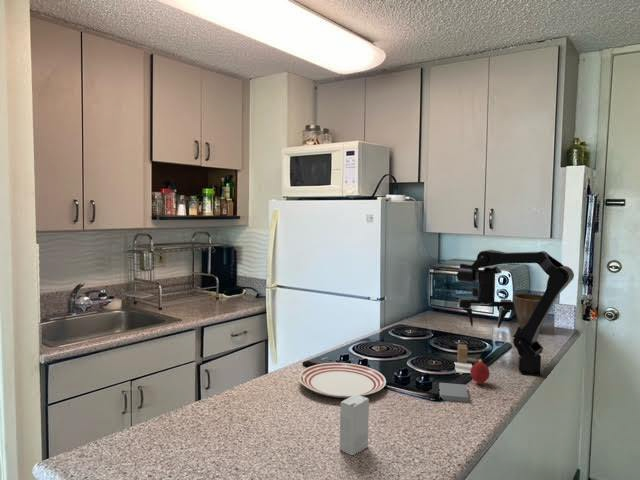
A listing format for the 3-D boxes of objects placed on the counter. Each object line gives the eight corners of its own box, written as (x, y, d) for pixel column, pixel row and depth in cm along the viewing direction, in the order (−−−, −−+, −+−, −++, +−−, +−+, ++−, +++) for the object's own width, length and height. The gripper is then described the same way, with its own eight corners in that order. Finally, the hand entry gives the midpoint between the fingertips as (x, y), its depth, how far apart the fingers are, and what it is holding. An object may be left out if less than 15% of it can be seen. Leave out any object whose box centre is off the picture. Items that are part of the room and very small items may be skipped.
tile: (439, 382, 151) (440, 394, 142) (465, 384, 150) (468, 397, 140) (439, 388, 151) (440, 401, 142) (465, 391, 150) (468, 404, 140)
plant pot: (550, 330, 221) (551, 296, 220) (545, 337, 208) (547, 301, 207) (515, 325, 229) (517, 292, 228) (509, 332, 216) (510, 297, 215)
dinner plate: (396, 379, 158) (396, 369, 158) (369, 412, 134) (369, 400, 133) (320, 366, 170) (321, 357, 170) (282, 394, 145) (282, 384, 145)
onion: (490, 388, 151) (491, 363, 150) (471, 386, 152) (471, 362, 151) (487, 381, 157) (488, 357, 156) (469, 380, 158) (470, 356, 157)
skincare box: (353, 441, 117) (354, 393, 116) (369, 447, 114) (370, 398, 113) (338, 451, 112) (338, 400, 111) (353, 458, 109) (354, 406, 108)
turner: (453, 359, 178) (453, 344, 178) (470, 361, 177) (470, 345, 176) (455, 374, 163) (456, 356, 163) (474, 375, 162) (474, 358, 162)
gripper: (509, 282, 180) (508, 323, 181) (458, 280, 184) (456, 320, 185) (515, 287, 169) (513, 330, 170) (460, 285, 173) (459, 327, 174)
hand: (485, 327), depth 175 cm, fingers open, 9 cm apart
